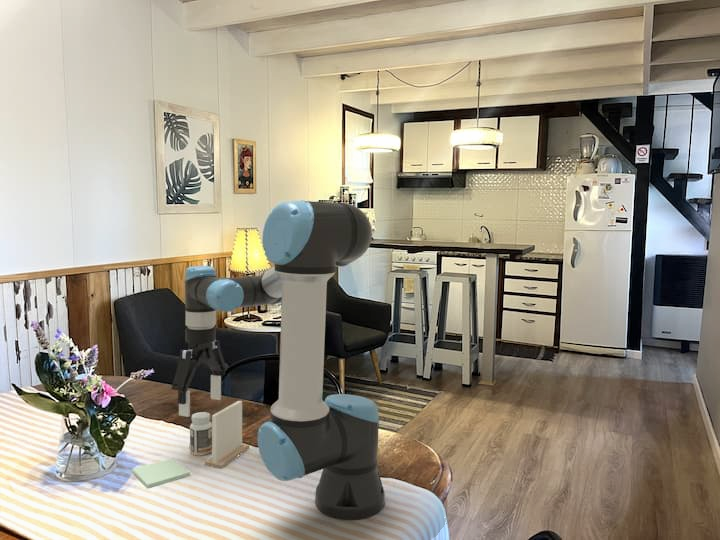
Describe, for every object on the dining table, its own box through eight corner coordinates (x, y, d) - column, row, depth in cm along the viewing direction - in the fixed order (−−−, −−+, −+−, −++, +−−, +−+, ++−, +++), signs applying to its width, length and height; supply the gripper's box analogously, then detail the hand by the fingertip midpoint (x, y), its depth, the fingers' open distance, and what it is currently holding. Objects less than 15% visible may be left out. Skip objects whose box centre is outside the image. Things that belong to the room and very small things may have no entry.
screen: (233, 445, 150) (233, 399, 149) (249, 448, 148) (249, 401, 147) (204, 465, 138) (204, 415, 137) (221, 468, 136) (221, 417, 135)
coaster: (189, 475, 132) (189, 472, 132) (147, 488, 126) (147, 484, 126) (173, 461, 140) (173, 457, 140) (132, 472, 133) (132, 469, 133)
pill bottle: (215, 447, 148) (215, 411, 147) (207, 457, 143) (207, 419, 142) (195, 446, 149) (194, 410, 148) (186, 455, 143) (186, 418, 142)
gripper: (215, 317, 156) (215, 391, 158) (155, 334, 132) (156, 421, 134) (239, 319, 153) (238, 394, 155) (182, 337, 130) (182, 425, 132)
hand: (200, 407), depth 145 cm, fingers open, 13 cm apart
